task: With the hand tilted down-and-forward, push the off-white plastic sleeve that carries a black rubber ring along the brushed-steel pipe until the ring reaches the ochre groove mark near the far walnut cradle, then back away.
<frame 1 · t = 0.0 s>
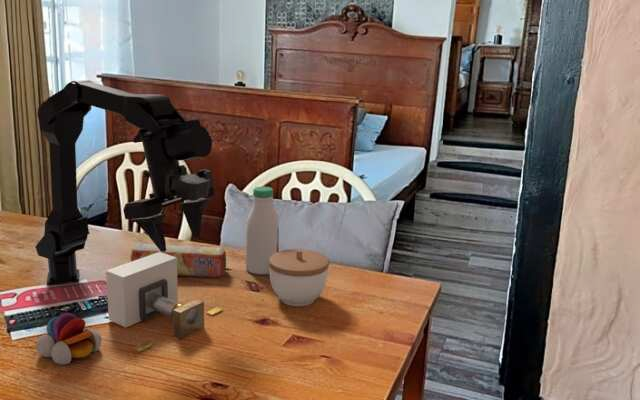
hand: (180, 244, 114), 15 cm above the table, tool pointing down, fingers open, 9 cm apart
snack package: (179, 274, 140), on the table
sleeve: (144, 288, 118), point 5 cm above the table, slide at 0.0 cm
rainbow petal fan: (70, 354, 104), on the table
milk bottle: (261, 270, 144), on the table
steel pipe: (158, 319, 117), on the table
lidded bowl: (297, 299, 129), on the table
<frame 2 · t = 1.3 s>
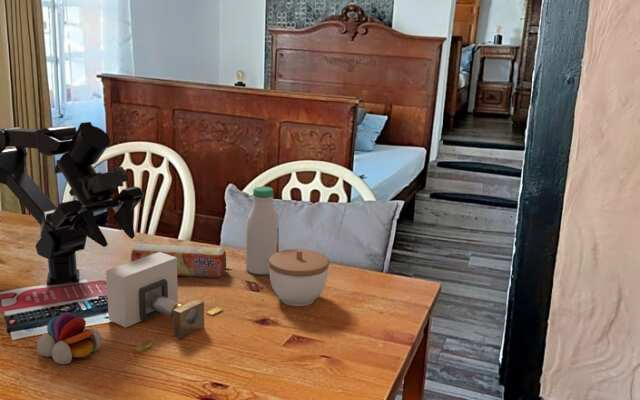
hand: (119, 241, 119), 14 cm above the table, tool tilted 45°, fingers open, 6 cm apart
nothing on the table moved.
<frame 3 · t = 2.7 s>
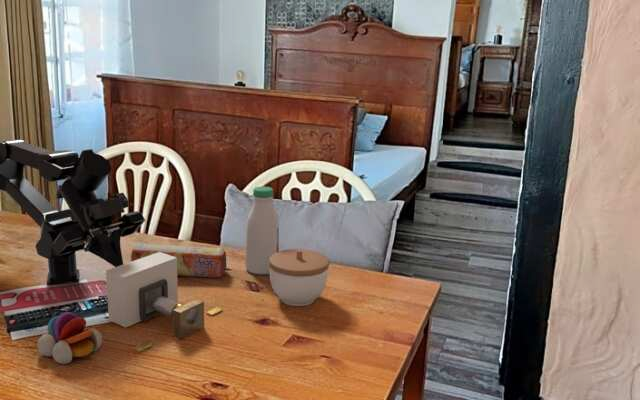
hand: (120, 267, 121), 8 cm above the table, tool tilted 45°, fingers closed
nothing on the table moved.
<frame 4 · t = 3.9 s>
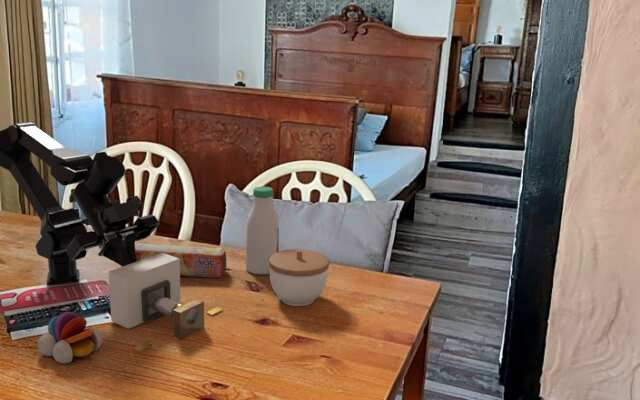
hand: (136, 271, 118), 8 cm above the table, tool tilted 45°, fingers closed, pressing on sleeve
sleeve: (147, 289, 117), point 5 cm above the table, slide at 0.8 cm, touching gripper
everything else where it was.
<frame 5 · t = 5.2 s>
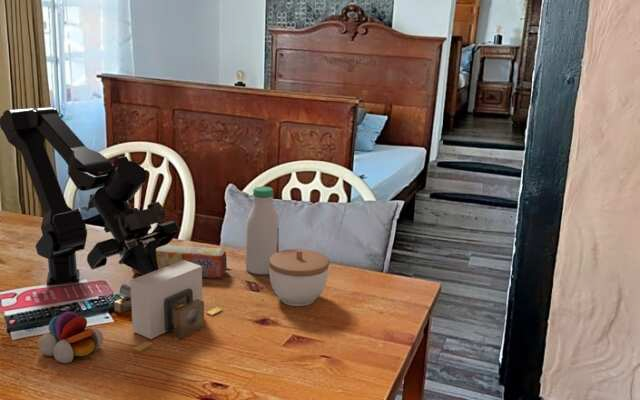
hand: (157, 280, 115), 8 cm above the table, tool tilted 45°, fingers closed, pressing on sleeve
sleeve: (169, 298, 114), point 5 cm above the table, slide at 7.0 cm, touching gripper
everything else where it was.
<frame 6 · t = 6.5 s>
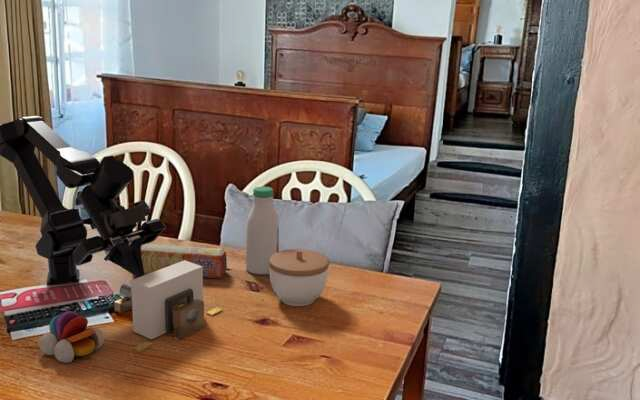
hand: (141, 277, 118), 8 cm above the table, tool tilted 45°, fingers closed
sleeve: (170, 298, 114), point 5 cm above the table, slide at 7.2 cm
everything else where it was.
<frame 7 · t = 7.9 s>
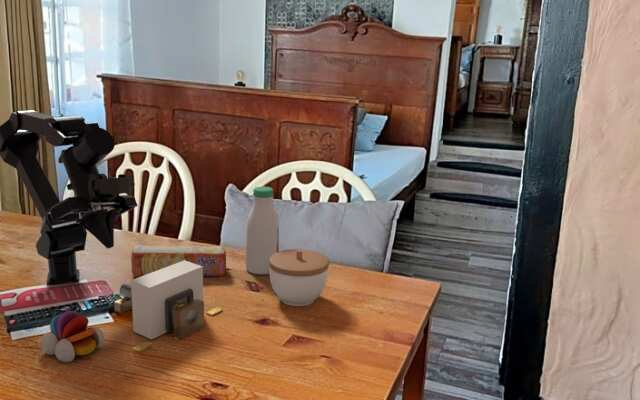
hand: (110, 247, 118), 13 cm above the table, tool tilted 35°, fingers closed
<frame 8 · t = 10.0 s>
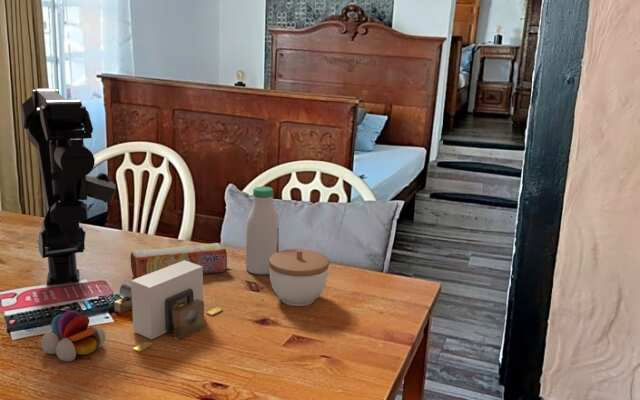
hand: (73, 243, 119), 13 cm above the table, tool pointing down, fingers closed
at the end: sleeve slide at 7.2 cm; sleeve moved 7.2 cm from its start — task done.
